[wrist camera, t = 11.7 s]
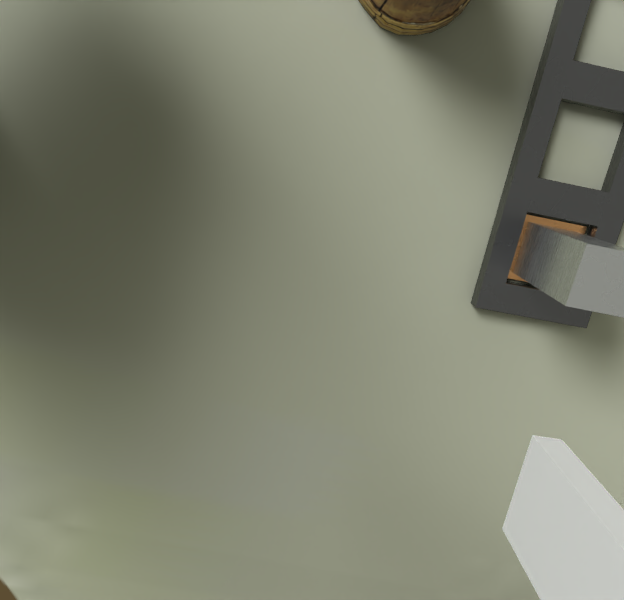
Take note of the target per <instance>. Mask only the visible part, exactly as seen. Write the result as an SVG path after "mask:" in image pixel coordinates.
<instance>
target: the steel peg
mask: <svg viewBox="0 0 624 600" xmlns="http://www.w3.org/2000/svg"><path fill="white" fill-rule="evenodd" d="M513 273H514V274H516V275H517V276H519V277H521V278H522V279H524V280H525V281H527V282H528V283H530V284H532V285H533V286H535V287H536V288H538V289H540V290H541V291H543V292H544V293H546V294H547V295H549V296H551V297H552V298H554V299H555V300H557V301H558V302H560V303H562V304H563V305H565V306H568V307H573V308H578V309H583V310H588V311H593V312H598V313H603V314H608V315H613V316H618V317H623V318H624V248H623V247H620V246H617V245H614V244H611V243H608V242H605V241H603V240H600V239H597V238H594V237H591V236H588V235H585V234H582V233H579V232H575V231H571V230H566V229H561V228H556V227H552V226H547V225H542V224H538V223H533V222H528V225H527V228H526V231H525V234H524V237H523V241H522V244H521V247H520V250H519V254H518V257H517V260H516V263H515V266H514V270H513Z"/></svg>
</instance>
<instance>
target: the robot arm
mask: <svg viewBox="0 0 624 600" xmlns="http://www.w3.org/2000/svg"><path fill="white" fill-rule="evenodd" d="M502 529H503V531H504V533H505V535H506V537H507V539H508V541H509V542H510V544H511V546H512V548H513V550H514V552H515V554H516V555H517V557H518V559H519V561H520V563H521V565H522V567H523V568H524V570H525V572H526V574H527V576H528V578H529V580H530V581H531V583H532V585H533V587H534V589H535V591H536V593H537V595H538V596H539V598H540V600H624V510H623V508H622V507H621V506H620V505H619V504H618V503H617V502H616V500H615V499H614V498H613V497H612V496H611V495H610V494H609V492H608V491H607V490H606V489H605V488H604V487H603V486H602V484H601V483H600V482H599V481H598V480H597V479H596V478H595V477H594V475H593V474H592V473H591V472H590V471H589V470H588V469H587V467H586V466H585V465H584V464H583V463H582V462H581V461H580V459H579V458H578V457H577V456H576V455H575V454H574V453H573V452H572V450H571V449H570V448H569V447H568V446H567V445H566V444H565V442H564V441H563V440H562V439H556V438H548V437H541V436H534V435H532V438H531V441H530V444H529V447H528V450H527V453H526V457H525V460H524V463H523V466H522V469H521V472H520V475H519V478H518V481H517V485H516V488H515V491H514V494H513V497H512V500H511V503H510V506H509V509H508V513H507V516H506V519H505V522H504V525H503V528H502Z"/></svg>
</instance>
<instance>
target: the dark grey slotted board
mask: <svg viewBox="0 0 624 600" xmlns="http://www.w3.org/2000/svg"><path fill="white" fill-rule="evenodd" d="M590 3H591V0H558V1H557V5H556V8H555V12H554V15H553V19H552V22H551V26H550V29H549V33H548V36H547V40H546V43H545V47H544V50H543V54H542V57H541V61H540V64H539V67H538V71H537V74H536V78H535V81H534V85H533V88H532V92H531V95H530V99H529V102H528V106H527V109H526V113H525V116H524V120H523V123H522V127H521V130H520V134H519V137H518V141H517V144H516V147H515V151H514V154H513V158H512V161H511V165H510V168H509V172H508V175H507V179H506V182H505V186H504V189H503V193H502V196H501V200H500V203H499V207H498V210H497V214H496V217H495V221H494V224H493V228H492V231H491V234H490V238H489V241H488V245H487V248H486V252H485V255H484V259H483V262H482V266H481V269H480V273H479V276H478V280H477V283H476V287H475V290H474V294H473V297H472V301H471V303H472V304H473V305H474V306H475V307H477V308H482V309H487V310H493V311H498V312H503V313H509V314H514V315H519V316H524V317H530V318H535V319H540V320H546V321H551V322H556V323H562V324H567V325H572V326H577V327H583V328H587V325H588V322H589V319H590V316H591V313H592V311H588V310H583V309H578V308H573V307H568V306H565V305H563V304H562V303H560V302H558V301H557V300H555V299H554V298H552V297H551V296H549V295H547V294H546V293H544V292H543V291H541V290H540V289H538V288H536V287H535V286H531V285H526V284H521V283H515V282H510V281H507V278H509V279H514V280H520V281H525V280H524V279H522V278H521V277H519V276H517V275H516V274H514V273H513V270H514V266H515V263H516V260H517V257H518V254H519V250H520V247H521V244H522V241H523V237H524V234H525V231H526V228H527V225H528V222H533V223H538V224H542V225H547V226H552V227H556V228H561V229H566V230H571V231H575V232H579V233H582V234H585V232H586V229H587V227H586V226H581V225H576V224H572V223H567V222H562V221H557V220H552V219H547V218H542V217H537V216H532V215H528V214H527V212H531V213H536V214H541V215H545V216H550V217H555V218H560V219H565V220H570V221H575V222H580V223H585V224H589V225H590V226H589V229H588V232H587V235H588V236H591V237H594V238H597V239H600V240H603V241H605V242H608V243H611V244H614V245H616V242H617V239H618V236H619V233H620V230H621V227H622V224H623V222H624V123H623V126H622V129H621V132H620V135H619V138H618V141H617V144H616V147H615V150H614V153H613V156H612V159H611V162H610V165H609V168H608V171H607V174H606V177H605V180H604V184H603V187H602V190H601V191H599V190H594V189H590V188H585V187H580V186H575V185H571V184H566V183H561V182H556V181H552V180H547V179H542V178H538V175H539V172H540V168H541V165H542V162H543V158H544V155H545V152H546V148H547V145H548V142H549V138H550V135H551V132H552V129H553V125H554V122H555V119H556V115H557V112H558V109H559V105H560V102H561V101H564V102H569V103H573V104H578V105H582V106H587V107H591V108H596V109H600V110H605V111H609V112H614V113H618V114H623V115H624V72H622V71H618V70H614V69H609V68H605V67H601V66H596V65H592V64H588V63H583V62H579V61H574V60H573V59H574V56H575V52H576V49H577V46H578V42H579V39H580V36H581V32H582V29H583V26H584V22H585V19H586V16H587V13H588V9H589V6H590ZM525 282H527V281H525Z"/></svg>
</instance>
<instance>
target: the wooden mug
mask: <svg viewBox="0 0 624 600" xmlns="http://www.w3.org/2000/svg"><path fill="white" fill-rule="evenodd" d="M359 2H360V3H361V4H362V6H363V7H364V8H365V10H366V11H367V12H368V13H369V15H370V16H371V17H372V18H373V19H374V20H375V21H376V23H377V24H378V25H379V26H380V27H382V28H384V29H386V30H388V31H391V32H393V33H395V34H397V35H419V34H425V33H430V32H433V31H435V30H437V29H439V28H441V27H443V26H446V25H447V24H449V23H450V22H451V21H452V20H453V19H454V18H456V17H457V16H458V15H459V14H460V13H461V12H462V11H463V10H464V8H465V7H466V6H467V4H468V3H469V2H470V0H359Z"/></svg>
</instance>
